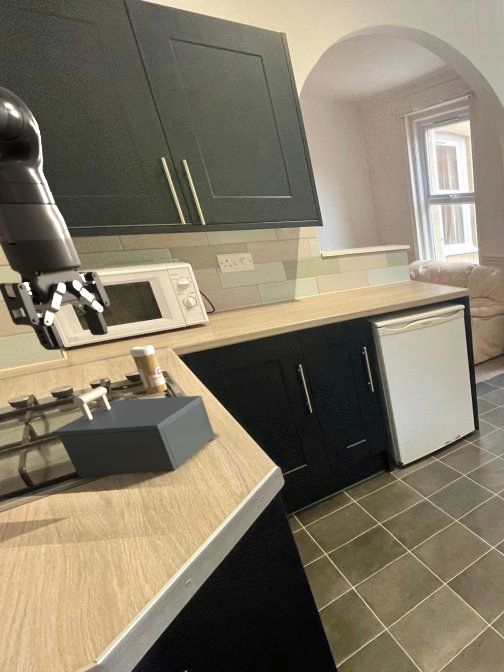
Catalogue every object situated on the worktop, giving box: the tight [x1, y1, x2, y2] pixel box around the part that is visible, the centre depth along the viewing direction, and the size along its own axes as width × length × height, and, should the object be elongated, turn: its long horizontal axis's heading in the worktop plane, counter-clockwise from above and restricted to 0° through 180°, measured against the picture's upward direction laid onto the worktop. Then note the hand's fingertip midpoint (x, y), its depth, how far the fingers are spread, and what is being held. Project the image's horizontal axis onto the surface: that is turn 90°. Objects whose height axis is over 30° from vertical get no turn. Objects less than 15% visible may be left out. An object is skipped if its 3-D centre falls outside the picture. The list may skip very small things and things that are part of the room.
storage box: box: [58, 399, 216, 478], centre depth 77 cm, size 16×13×10 cm
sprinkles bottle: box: [129, 344, 168, 395], centre depth 107 cm, size 5×5×13 cm
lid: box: [51, 385, 203, 437], centre depth 74 cm, size 16×13×5 cm
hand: (78, 341), depth 69 cm, fingers open, 8 cm apart
